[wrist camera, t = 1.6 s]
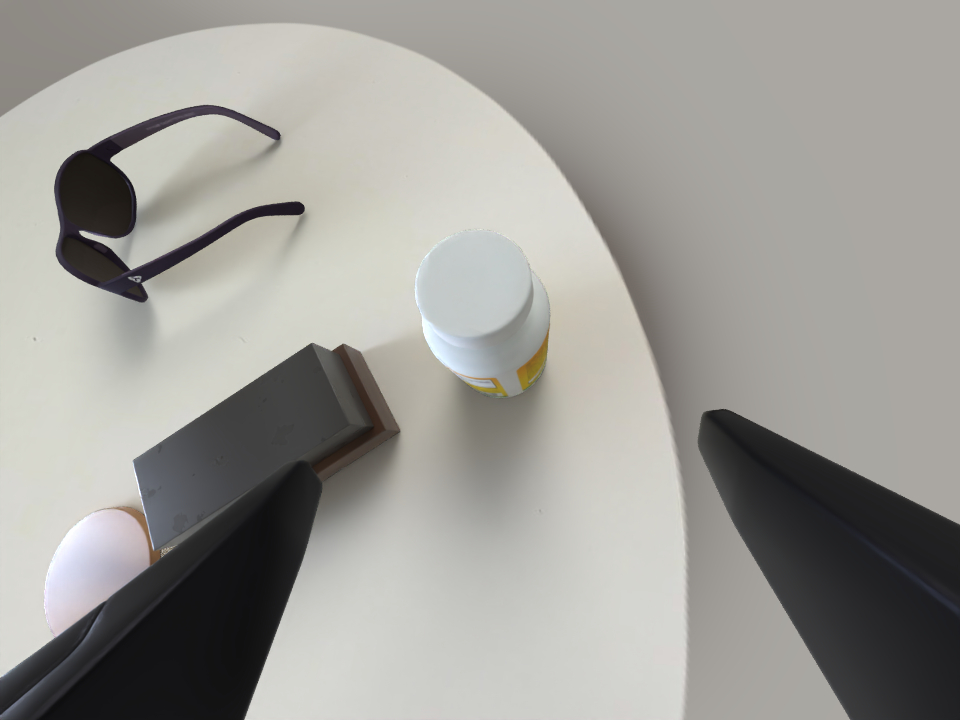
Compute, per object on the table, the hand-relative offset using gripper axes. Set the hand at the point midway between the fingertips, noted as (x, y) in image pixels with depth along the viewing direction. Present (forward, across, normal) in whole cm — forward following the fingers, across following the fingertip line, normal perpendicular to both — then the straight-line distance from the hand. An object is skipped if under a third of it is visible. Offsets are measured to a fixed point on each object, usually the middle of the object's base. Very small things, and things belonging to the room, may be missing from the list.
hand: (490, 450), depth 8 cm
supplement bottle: (+12, 0, +5) cm, 13 cm away
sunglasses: (+23, +22, -6) cm, 33 cm away
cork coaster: (+5, +27, +12) cm, 30 cm away
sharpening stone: (+10, +14, +7) cm, 18 cm away
